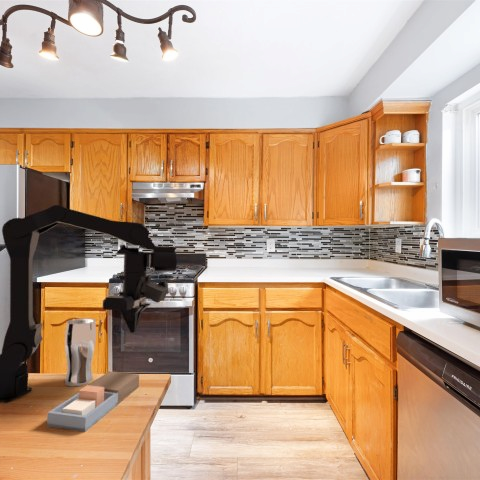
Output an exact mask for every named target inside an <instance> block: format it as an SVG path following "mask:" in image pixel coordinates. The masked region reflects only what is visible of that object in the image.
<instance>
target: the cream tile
mask: <svg viewBox="0 0 480 480" xmlns="http://www.w3.org/2000/svg"><path fill="white" fill-rule="evenodd" d="M94 408H95V401H93V400H84V399H76V400H75V401H73V402H72V403H70V404H69V405H67V406H66V407H64V408H63V413H69V414H76V415H84V416H85V415H87V414H88V413H89V412H91V411H92V410H93V409H94Z"/></svg>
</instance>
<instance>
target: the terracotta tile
mask: <svg viewBox="0 0 480 480" xmlns="http://www.w3.org/2000/svg"><path fill="white" fill-rule="evenodd" d="M78 393H79V399H84V400H93V401H95V408H96V407H97V406H98V405H100V404H101V403H102V402H104V387H99V386H89V385H88V384H86V385H85V386H84V387H82V388H80V389H79V390H78Z"/></svg>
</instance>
